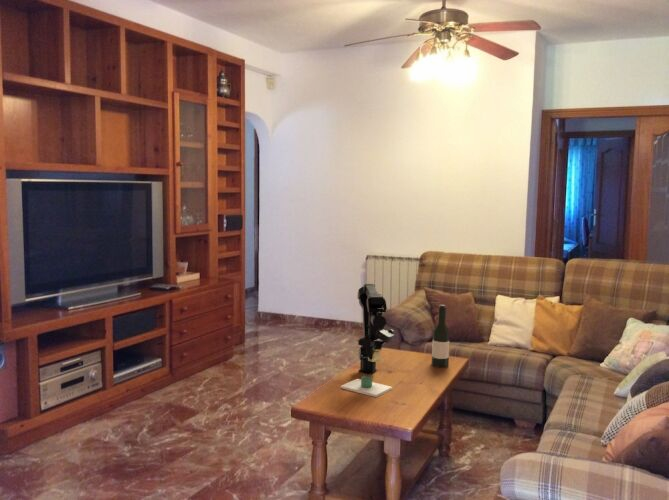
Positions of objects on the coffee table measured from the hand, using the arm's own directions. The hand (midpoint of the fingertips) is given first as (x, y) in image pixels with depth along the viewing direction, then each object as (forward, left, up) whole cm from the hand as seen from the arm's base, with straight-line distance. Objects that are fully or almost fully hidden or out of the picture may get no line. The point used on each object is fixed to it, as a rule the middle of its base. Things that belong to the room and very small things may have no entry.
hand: (374, 357), depth 274 cm
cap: (0, 0, -1) cm, 1 cm away
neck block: (+2, -9, -11) cm, 14 cm away
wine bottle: (+11, +44, -12) cm, 47 cm away
